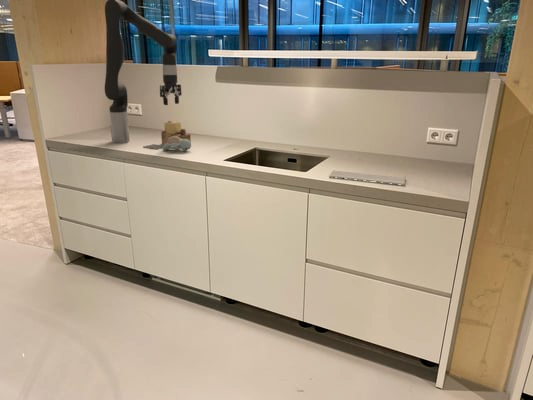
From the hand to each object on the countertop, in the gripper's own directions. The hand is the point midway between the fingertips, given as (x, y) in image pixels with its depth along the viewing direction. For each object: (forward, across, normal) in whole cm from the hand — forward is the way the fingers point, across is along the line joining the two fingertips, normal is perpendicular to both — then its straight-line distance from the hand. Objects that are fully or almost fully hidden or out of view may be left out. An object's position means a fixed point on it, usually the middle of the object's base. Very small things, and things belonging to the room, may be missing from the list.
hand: (171, 104), depth 225 cm
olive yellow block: (+16, -2, -2) cm, 17 cm away
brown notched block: (+22, -2, 0) cm, 23 cm away
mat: (+23, +11, -3) cm, 25 cm away
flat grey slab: (+22, +3, +115) cm, 117 cm away
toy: (+23, +10, +12) cm, 28 cm away
